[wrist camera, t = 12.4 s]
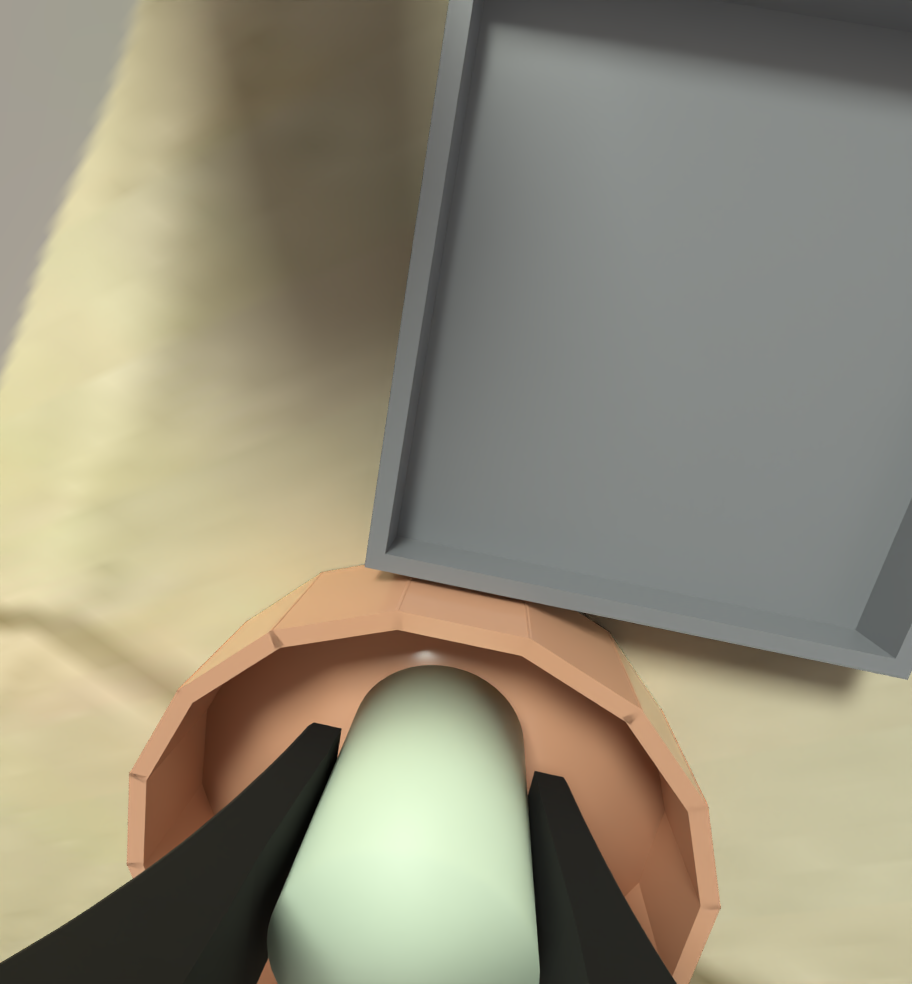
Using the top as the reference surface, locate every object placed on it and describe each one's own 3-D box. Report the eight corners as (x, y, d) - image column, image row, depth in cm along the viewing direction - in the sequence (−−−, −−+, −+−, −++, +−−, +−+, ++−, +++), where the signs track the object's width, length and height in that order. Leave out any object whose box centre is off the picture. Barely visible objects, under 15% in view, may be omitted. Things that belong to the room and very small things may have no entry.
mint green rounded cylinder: (543, 689, 11) (572, 894, 7) (501, 830, 12) (502, 1089, 8) (368, 646, 11) (285, 821, 7) (340, 790, 12) (252, 1023, 8)
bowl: (735, 619, 12) (808, 696, 9) (599, 998, 15) (623, 1142, 13) (217, 512, 13) (134, 554, 10) (191, 902, 16) (122, 1019, 13)
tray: (1092, 59, 9) (1232, -14, 7) (848, 635, 12) (907, 679, 10) (474, -40, 10) (468, -132, 8) (383, 539, 13) (364, 567, 11)
